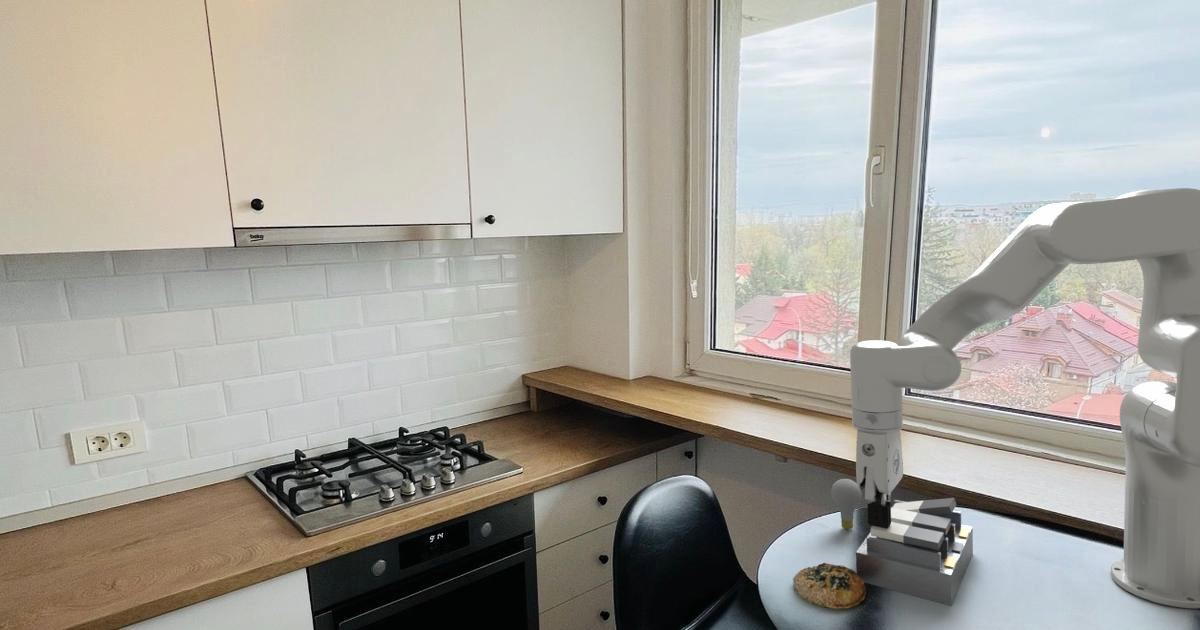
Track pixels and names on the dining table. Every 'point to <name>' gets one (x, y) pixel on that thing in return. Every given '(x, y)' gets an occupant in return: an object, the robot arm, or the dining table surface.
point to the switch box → (918, 563)
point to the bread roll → (830, 586)
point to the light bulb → (846, 500)
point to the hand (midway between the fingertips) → (879, 524)
